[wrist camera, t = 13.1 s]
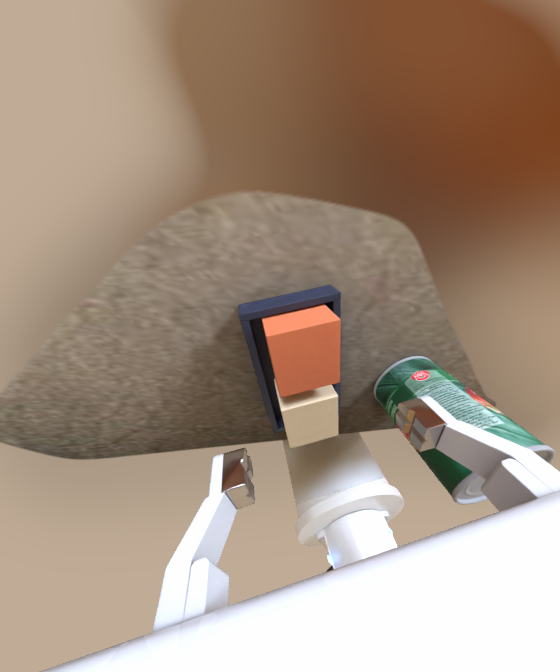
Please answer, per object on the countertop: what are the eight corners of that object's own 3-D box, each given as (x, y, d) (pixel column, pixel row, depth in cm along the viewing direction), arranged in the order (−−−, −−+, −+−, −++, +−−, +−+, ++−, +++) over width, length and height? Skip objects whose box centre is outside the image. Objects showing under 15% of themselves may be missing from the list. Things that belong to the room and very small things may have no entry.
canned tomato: (361, 390, 24) (440, 498, 15) (415, 344, 22) (548, 437, 12) (393, 411, 28) (473, 509, 18) (442, 373, 25) (562, 463, 16)
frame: (333, 402, 24) (340, 416, 22) (271, 418, 24) (274, 434, 22) (330, 284, 16) (340, 292, 15) (238, 304, 16) (238, 314, 14)
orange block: (259, 311, 16) (265, 336, 13) (319, 298, 16) (340, 319, 13) (272, 366, 19) (280, 398, 16) (322, 354, 19) (340, 382, 16)
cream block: (323, 404, 23) (338, 435, 20) (282, 415, 23) (290, 449, 19) (321, 366, 20) (338, 396, 17) (273, 378, 20) (280, 411, 16)
